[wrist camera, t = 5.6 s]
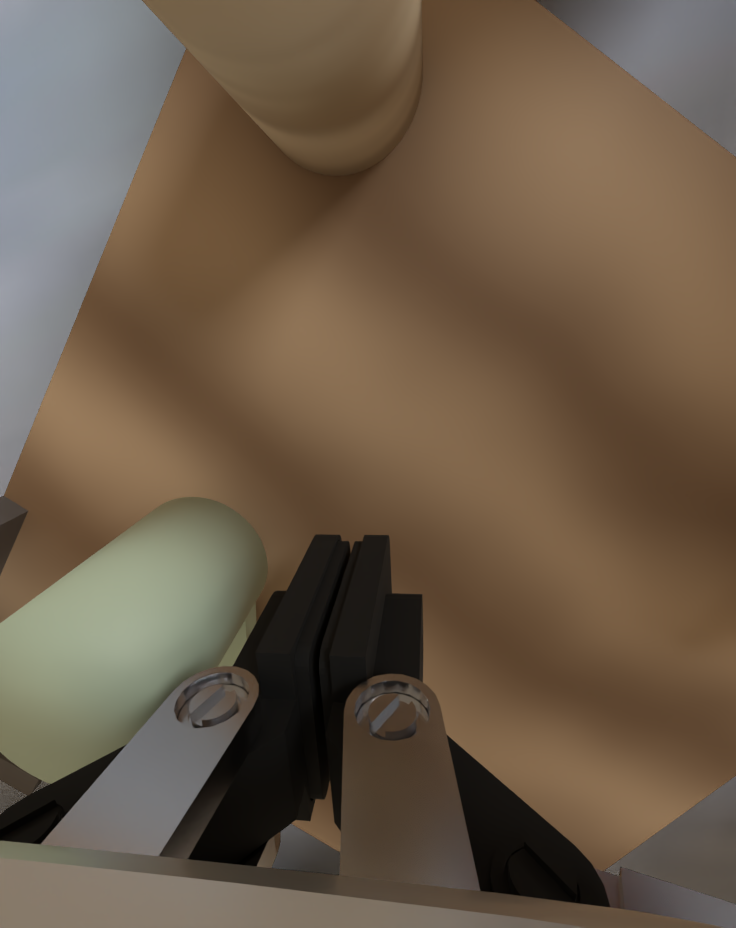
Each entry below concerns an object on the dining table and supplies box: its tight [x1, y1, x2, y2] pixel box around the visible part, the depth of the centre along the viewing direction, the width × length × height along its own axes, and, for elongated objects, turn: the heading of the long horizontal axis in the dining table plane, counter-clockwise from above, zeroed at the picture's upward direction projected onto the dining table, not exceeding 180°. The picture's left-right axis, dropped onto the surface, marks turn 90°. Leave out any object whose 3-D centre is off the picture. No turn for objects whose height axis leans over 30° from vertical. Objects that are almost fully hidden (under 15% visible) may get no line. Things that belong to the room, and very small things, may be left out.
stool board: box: [0, 0, 736, 871], centre depth 11 cm, size 22×22×8 cm
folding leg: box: [0, 497, 268, 784], centre depth 11 cm, size 9×4×6 cm, turn 178°
